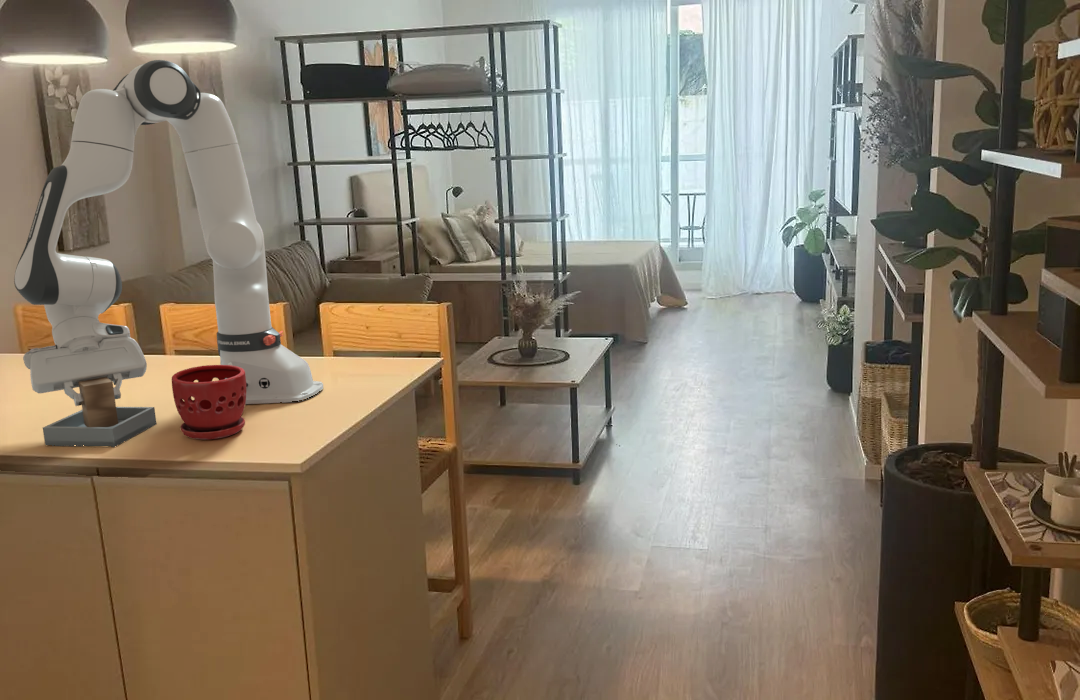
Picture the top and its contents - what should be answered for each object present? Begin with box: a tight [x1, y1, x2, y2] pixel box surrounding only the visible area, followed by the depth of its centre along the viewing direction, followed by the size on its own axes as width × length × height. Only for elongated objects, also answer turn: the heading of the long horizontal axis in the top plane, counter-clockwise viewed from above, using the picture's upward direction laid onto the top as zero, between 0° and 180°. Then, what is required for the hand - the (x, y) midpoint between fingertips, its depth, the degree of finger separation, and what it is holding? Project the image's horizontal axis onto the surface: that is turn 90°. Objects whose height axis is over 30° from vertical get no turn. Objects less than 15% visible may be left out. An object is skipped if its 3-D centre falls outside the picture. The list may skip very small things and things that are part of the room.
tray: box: [42, 406, 157, 448], centre depth 179 cm, size 14×14×4 cm
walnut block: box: [78, 377, 118, 427], centre depth 178 cm, size 5×5×8 cm
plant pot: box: [171, 364, 246, 441], centre depth 177 cm, size 13×13×12 cm
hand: (98, 400), depth 178 cm, fingers closed on walnut block, 5 cm apart
